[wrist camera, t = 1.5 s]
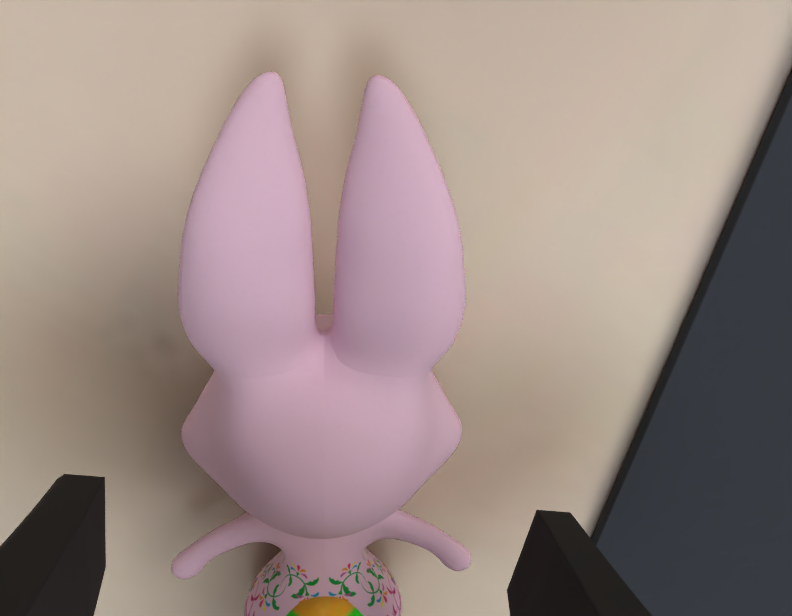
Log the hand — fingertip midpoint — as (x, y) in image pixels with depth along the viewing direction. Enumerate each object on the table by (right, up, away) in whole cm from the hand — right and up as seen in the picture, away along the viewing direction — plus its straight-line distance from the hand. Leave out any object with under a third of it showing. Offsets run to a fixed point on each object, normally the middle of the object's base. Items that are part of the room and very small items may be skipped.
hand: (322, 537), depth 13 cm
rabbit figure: (0, +2, +3) cm, 4 cm away
